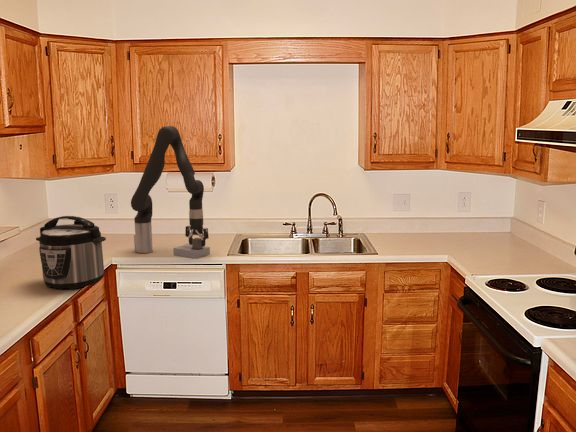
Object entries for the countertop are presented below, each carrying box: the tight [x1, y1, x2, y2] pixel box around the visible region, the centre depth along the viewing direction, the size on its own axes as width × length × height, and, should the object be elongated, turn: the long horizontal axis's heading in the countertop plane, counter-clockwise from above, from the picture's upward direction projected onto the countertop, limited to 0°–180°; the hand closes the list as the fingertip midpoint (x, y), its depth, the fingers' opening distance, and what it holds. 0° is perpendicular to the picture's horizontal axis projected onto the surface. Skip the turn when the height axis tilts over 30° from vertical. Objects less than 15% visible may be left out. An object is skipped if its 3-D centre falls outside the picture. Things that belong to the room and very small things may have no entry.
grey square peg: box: [192, 237, 203, 250], centre depth 312 cm, size 4×4×8 cm
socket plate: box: [173, 243, 211, 260], centre depth 315 cm, size 16×12×4 cm
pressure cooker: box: [35, 215, 107, 290], centre depth 263 cm, size 30×28×32 cm
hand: (197, 245), depth 312 cm, fingers open, 8 cm apart
